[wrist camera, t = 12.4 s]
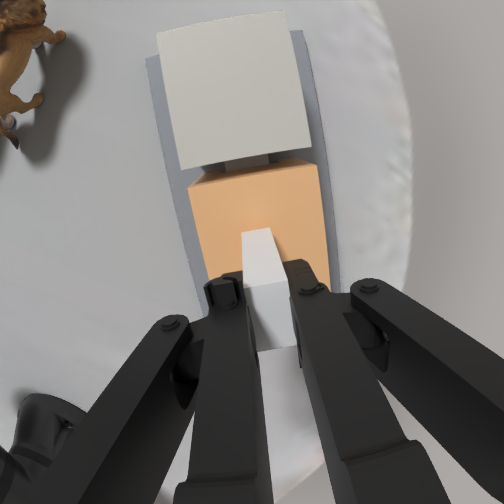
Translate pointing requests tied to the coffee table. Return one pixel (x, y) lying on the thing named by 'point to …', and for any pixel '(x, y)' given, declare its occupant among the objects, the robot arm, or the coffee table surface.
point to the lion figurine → (20, 53)
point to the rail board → (235, 112)
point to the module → (261, 214)
